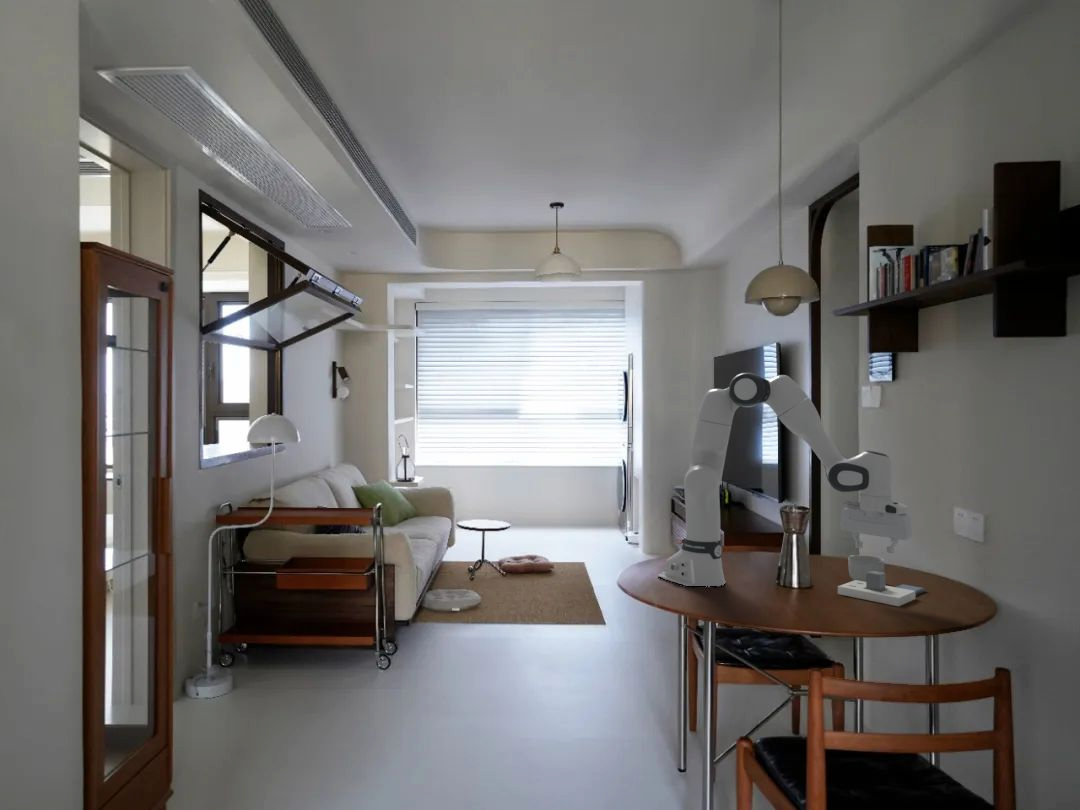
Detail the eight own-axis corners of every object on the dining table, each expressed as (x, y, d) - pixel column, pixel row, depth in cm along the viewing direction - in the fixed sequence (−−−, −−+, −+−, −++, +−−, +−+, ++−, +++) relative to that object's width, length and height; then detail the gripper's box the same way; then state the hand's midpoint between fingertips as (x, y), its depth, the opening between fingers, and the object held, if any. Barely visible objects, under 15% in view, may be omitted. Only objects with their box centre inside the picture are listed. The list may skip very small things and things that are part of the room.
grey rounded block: (890, 586, 226) (890, 561, 226) (856, 586, 226) (856, 561, 226) (870, 576, 240) (869, 552, 240) (838, 576, 240) (838, 552, 240)
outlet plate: (837, 594, 217) (837, 585, 217) (855, 587, 225) (855, 579, 225) (898, 606, 204) (898, 597, 204) (915, 599, 211) (915, 590, 211)
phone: (887, 593, 218) (887, 589, 218) (901, 587, 225) (901, 583, 225) (910, 597, 213) (910, 594, 213) (925, 591, 220) (925, 587, 220)
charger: (866, 595, 215) (866, 572, 215) (872, 593, 217) (872, 570, 217) (879, 598, 212) (879, 574, 212) (885, 595, 214) (885, 572, 214)
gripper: (837, 501, 220) (836, 545, 220) (905, 509, 205) (904, 557, 205) (846, 499, 224) (845, 543, 224) (914, 507, 209) (913, 554, 209)
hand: (874, 550), depth 214 cm, fingers open, 8 cm apart
